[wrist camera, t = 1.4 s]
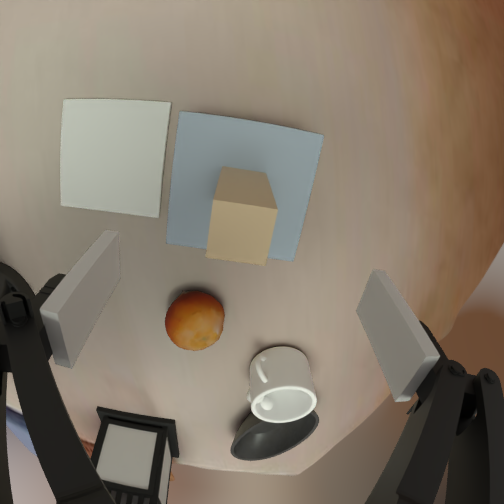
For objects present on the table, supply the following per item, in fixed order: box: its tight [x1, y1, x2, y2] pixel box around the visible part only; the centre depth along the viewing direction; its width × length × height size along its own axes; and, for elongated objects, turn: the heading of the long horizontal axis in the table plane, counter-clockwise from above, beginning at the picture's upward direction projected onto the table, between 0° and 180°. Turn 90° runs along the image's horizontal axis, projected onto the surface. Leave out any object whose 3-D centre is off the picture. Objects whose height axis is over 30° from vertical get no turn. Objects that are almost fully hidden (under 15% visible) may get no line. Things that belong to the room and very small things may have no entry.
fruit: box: [165, 291, 225, 351], centre depth 42 cm, size 8×8×8 cm
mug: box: [247, 347, 317, 423], centre depth 46 cm, size 12×10×9 cm
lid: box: [166, 111, 324, 266], centre depth 25 cm, size 13×13×11 cm
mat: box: [60, 99, 172, 218], centre depth 34 cm, size 14×14×1 cm
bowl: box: [231, 410, 319, 461], centre depth 55 cm, size 12×22×6 cm, turn 147°
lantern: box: [90, 407, 179, 504], centre depth 46 cm, size 17×17×35 cm
